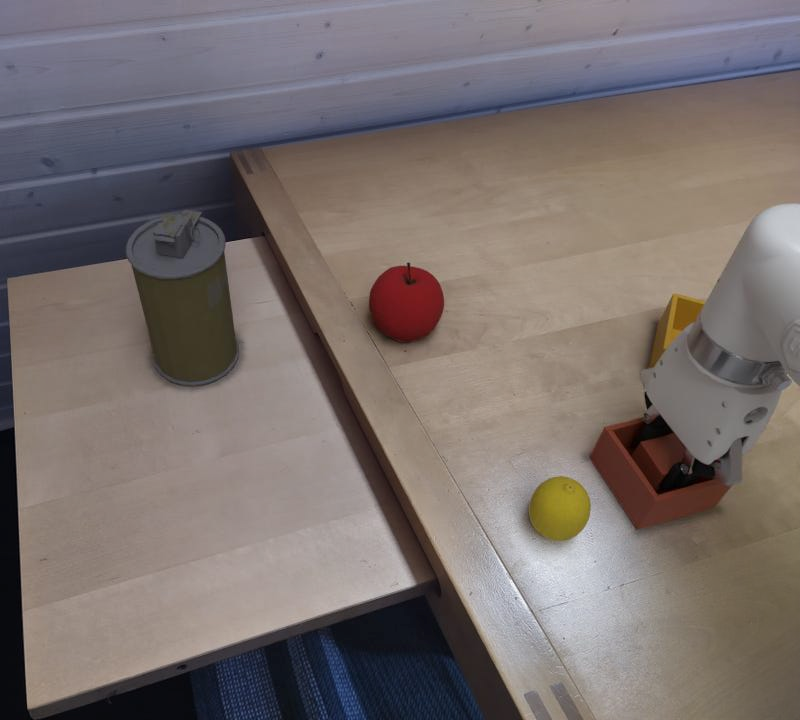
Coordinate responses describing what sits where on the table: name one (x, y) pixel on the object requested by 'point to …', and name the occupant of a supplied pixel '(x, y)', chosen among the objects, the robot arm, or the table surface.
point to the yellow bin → (674, 322)
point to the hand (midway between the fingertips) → (661, 464)
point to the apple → (406, 303)
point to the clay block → (658, 457)
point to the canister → (185, 296)
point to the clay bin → (635, 488)
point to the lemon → (559, 508)
